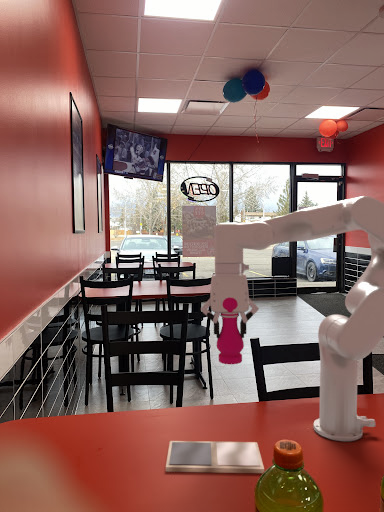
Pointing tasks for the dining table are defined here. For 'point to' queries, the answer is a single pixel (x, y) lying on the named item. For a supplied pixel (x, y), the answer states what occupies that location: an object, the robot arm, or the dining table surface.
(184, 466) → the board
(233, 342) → the pepper mill
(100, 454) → the dining table surface
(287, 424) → the dining table surface
